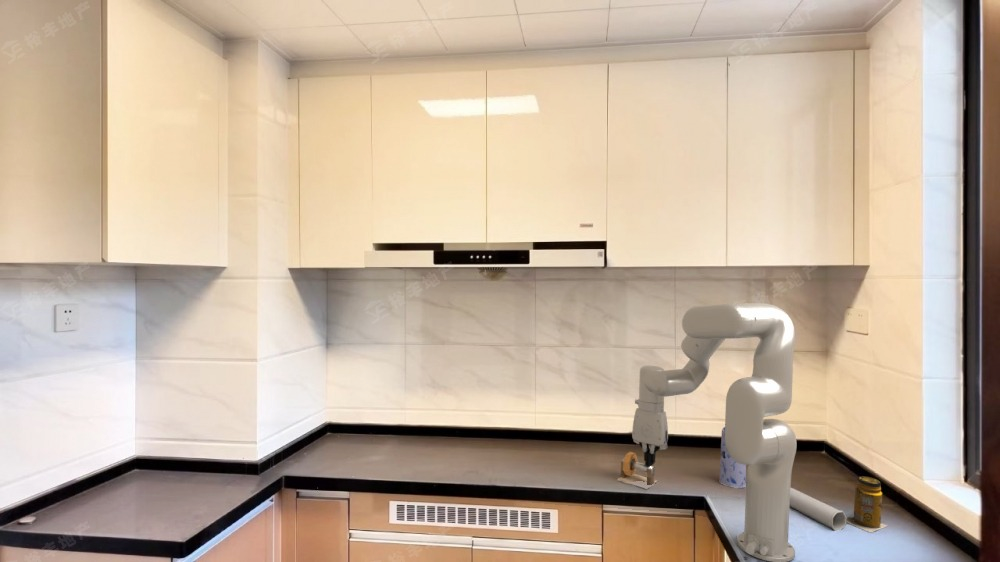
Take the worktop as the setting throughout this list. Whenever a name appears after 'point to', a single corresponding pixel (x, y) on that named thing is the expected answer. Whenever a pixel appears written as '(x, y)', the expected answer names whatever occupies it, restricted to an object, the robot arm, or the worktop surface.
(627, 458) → the o ring
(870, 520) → the condiment
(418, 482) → the worktop surface
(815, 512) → the tube
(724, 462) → the aerosol can
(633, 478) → the base board
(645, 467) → the pipe
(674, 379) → the robot arm
